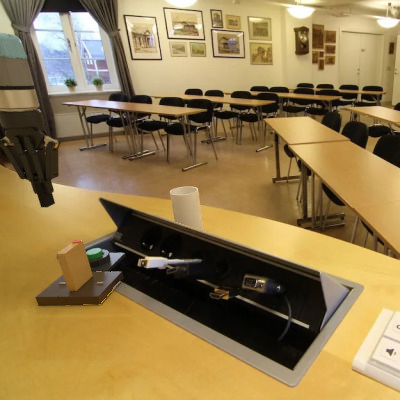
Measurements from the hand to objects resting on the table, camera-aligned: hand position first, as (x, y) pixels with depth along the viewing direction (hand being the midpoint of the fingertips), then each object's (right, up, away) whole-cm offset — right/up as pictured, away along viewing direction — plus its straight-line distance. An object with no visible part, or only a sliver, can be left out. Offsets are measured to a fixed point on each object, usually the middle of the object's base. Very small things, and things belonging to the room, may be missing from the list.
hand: (48, 205), depth 81 cm
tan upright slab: (+11, -19, -4) cm, 22 cm away
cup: (+26, -11, +25) cm, 38 cm away
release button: (+7, -14, +7) cm, 17 cm away
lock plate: (+11, -21, -3) cm, 24 cm away
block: (+7, -17, +8) cm, 20 cm away
